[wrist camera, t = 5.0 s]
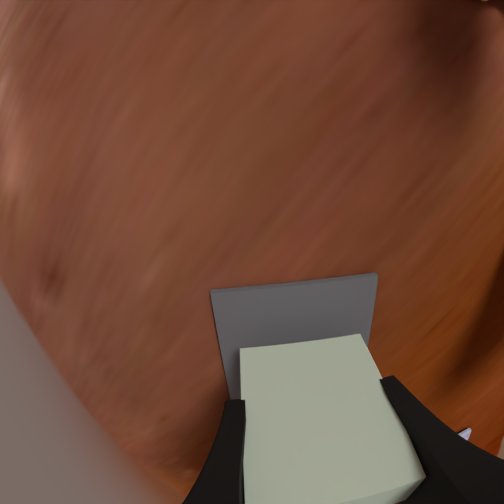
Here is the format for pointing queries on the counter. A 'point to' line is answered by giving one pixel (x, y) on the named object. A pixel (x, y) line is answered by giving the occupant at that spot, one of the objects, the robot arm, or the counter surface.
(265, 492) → the pale green rectangular block
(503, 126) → the counter surface
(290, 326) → the domino mat
